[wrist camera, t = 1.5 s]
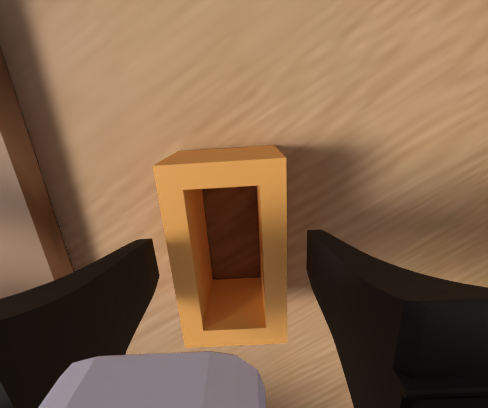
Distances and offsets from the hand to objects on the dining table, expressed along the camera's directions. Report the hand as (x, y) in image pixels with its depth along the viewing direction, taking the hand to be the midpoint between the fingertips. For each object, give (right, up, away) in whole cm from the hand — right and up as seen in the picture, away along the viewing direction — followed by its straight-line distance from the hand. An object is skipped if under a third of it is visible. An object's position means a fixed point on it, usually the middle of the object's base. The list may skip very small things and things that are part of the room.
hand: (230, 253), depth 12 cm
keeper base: (-15, +3, +2) cm, 16 cm away
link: (0, +1, +3) cm, 3 cm away
